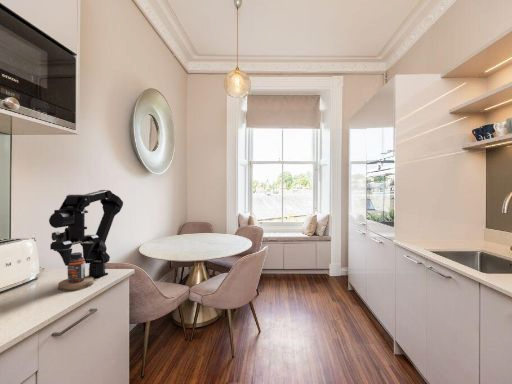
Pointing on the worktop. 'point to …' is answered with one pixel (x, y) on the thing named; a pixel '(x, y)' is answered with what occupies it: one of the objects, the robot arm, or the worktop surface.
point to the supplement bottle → (76, 268)
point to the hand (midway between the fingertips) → (76, 262)
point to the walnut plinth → (75, 284)
